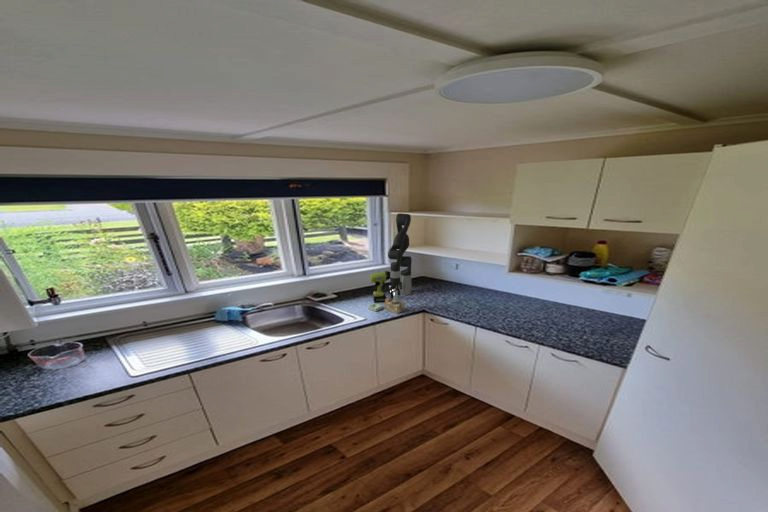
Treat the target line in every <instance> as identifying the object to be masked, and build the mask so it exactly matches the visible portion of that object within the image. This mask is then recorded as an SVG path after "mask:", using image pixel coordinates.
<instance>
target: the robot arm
mask: <svg viewBox="0 0 768 512" xmlns="http://www.w3.org/2000/svg"><path fill="white" fill-rule="evenodd" d="M411 220H412V217H411V214H409V213H401V212H400V213H397V214H396V216H395V221H396V222H395V223H396V230H397V234H396V235H395V236H394V240H393V243H392V245H391V247H390V248H389V250H388V253H387V258H388V259H390V260H396V261H395V262H394V261H393V262H391V263H390V271H389V272H390V279H389V280H390V284H391V285H388V291H387V293H388V294H389V295H390V297H389V299H390V300H391V299H392V300H393V298H394V294H393V293H394V292H395V290H397V292H398V296H399V297H400V296H401V295H404V296H408V295H410V294H412V292H413V291H412V289H413V288H412V287H413V286H412V285H413V283H412V262H413V261H412V260H413V259H412V257H411V255H410V256H409V255H408V256H407V255H405V256H404V254H405V252H406V251H407V249H408V248H409V246H410V237H409V235H408V233H407V232H408V230H409V227H410V225H411V222H412V221H411ZM401 268H405V269H402V270H401Z"/></svg>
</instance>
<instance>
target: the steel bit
mask: <svg viewBox="0 0 768 512" xmlns="http://www.w3.org/2000/svg"><path fill="white" fill-rule="evenodd" d="M397 291H398V290H397V289H396V290H395V292H394V293H393V294H394V298H393V299H392V300H393V304H398V301H399V297H398V292H397Z"/></svg>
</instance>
